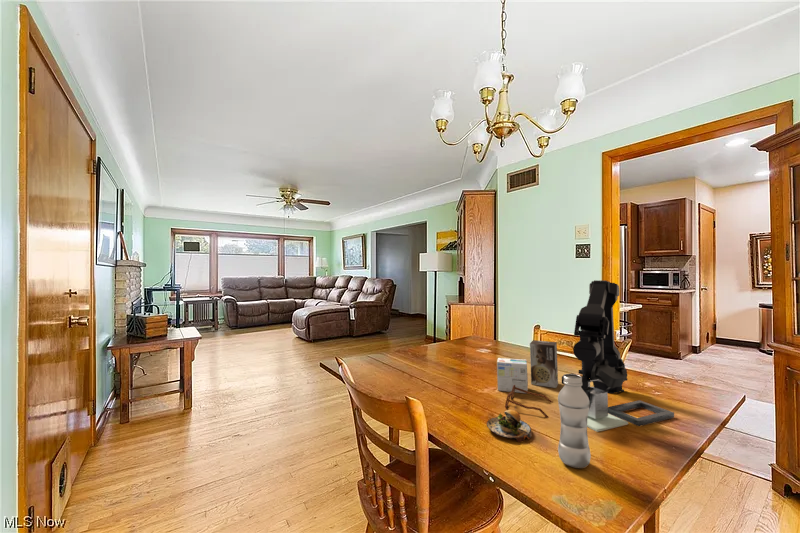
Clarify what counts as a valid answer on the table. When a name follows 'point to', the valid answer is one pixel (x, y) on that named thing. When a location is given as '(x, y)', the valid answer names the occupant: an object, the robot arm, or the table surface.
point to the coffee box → (544, 363)
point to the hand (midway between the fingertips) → (593, 407)
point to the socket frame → (659, 416)
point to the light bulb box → (512, 374)
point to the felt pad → (605, 423)
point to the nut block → (598, 403)
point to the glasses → (524, 405)
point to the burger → (510, 426)
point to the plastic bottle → (573, 423)
